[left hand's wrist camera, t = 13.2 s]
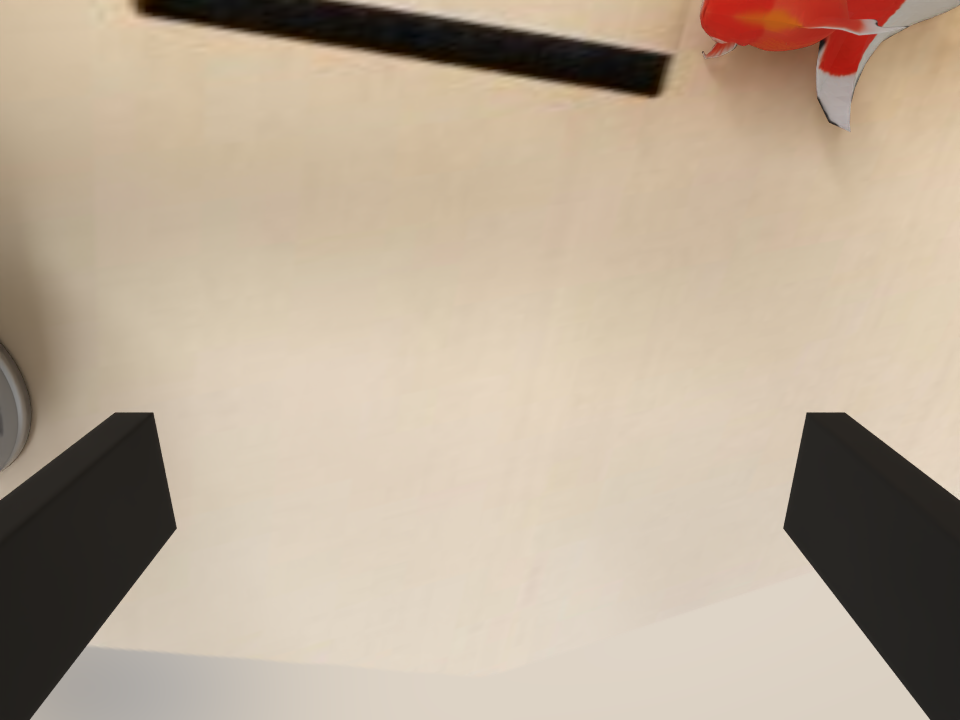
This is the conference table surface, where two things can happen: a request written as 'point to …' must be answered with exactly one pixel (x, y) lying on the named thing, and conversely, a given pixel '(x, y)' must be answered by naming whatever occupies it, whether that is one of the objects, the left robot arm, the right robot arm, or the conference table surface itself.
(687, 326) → the conference table surface
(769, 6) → the fish
